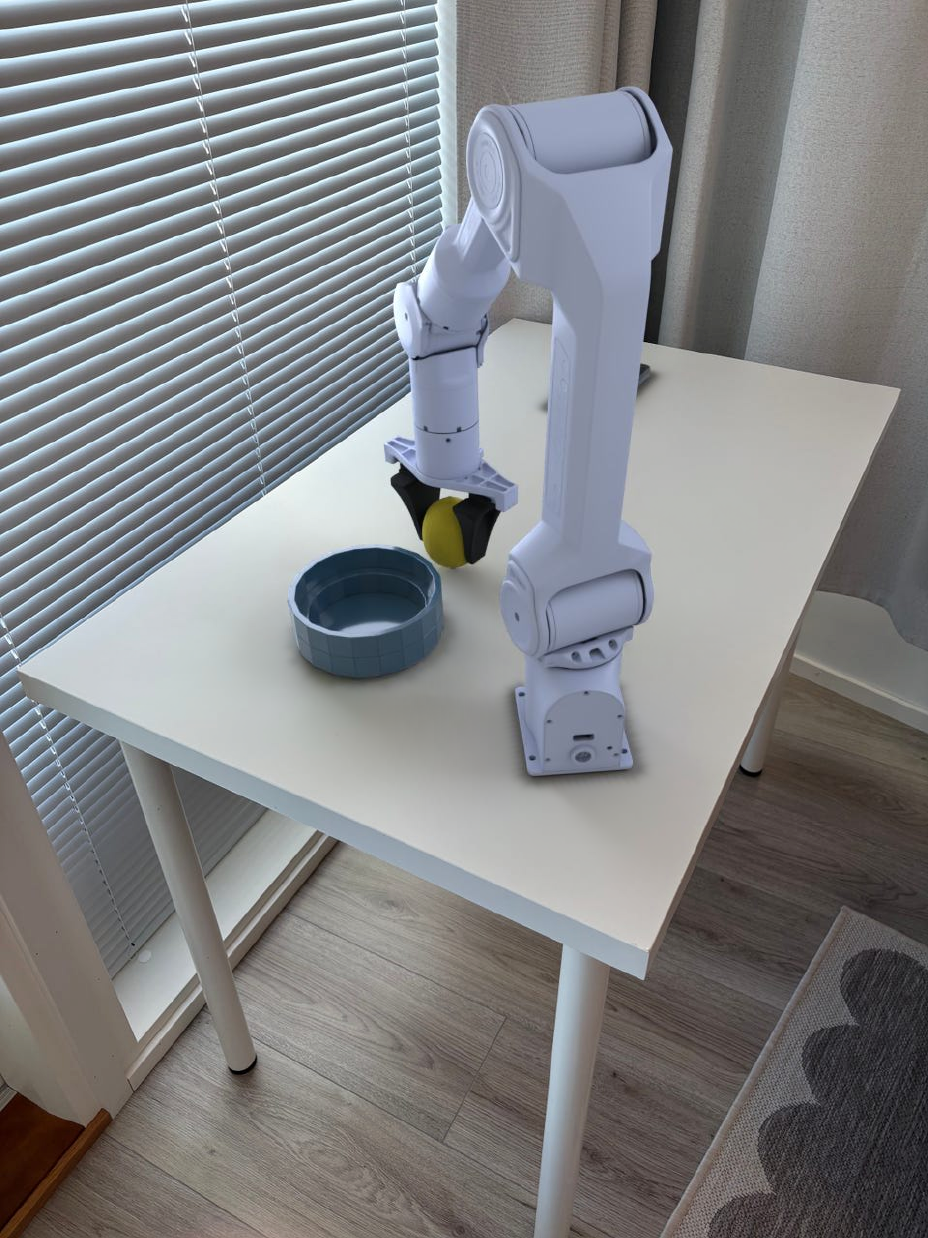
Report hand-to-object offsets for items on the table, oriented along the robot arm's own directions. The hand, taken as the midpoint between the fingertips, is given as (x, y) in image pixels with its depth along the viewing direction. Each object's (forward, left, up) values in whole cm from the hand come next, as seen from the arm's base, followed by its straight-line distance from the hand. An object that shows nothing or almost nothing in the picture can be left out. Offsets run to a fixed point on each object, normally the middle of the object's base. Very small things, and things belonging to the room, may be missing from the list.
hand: (452, 547), depth 91 cm
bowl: (-9, +8, -2) cm, 12 cm away
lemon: (0, 0, -3) cm, 3 cm away
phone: (+36, -21, -2) cm, 42 cm away
